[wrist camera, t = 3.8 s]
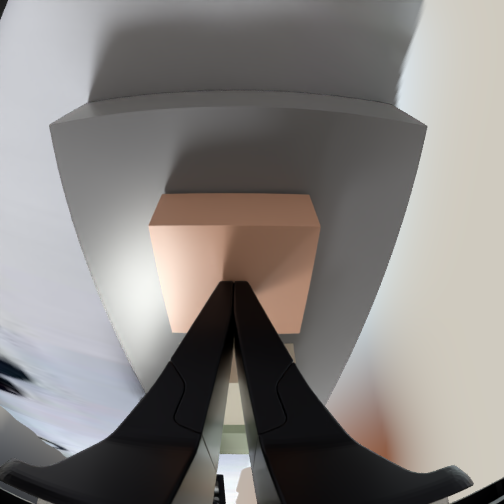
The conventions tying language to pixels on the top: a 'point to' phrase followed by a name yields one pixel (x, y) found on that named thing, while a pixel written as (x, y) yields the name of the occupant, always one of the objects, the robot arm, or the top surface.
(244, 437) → the pale green cube
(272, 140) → the gray rectangular slab
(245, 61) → the top surface
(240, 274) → the peach cube
